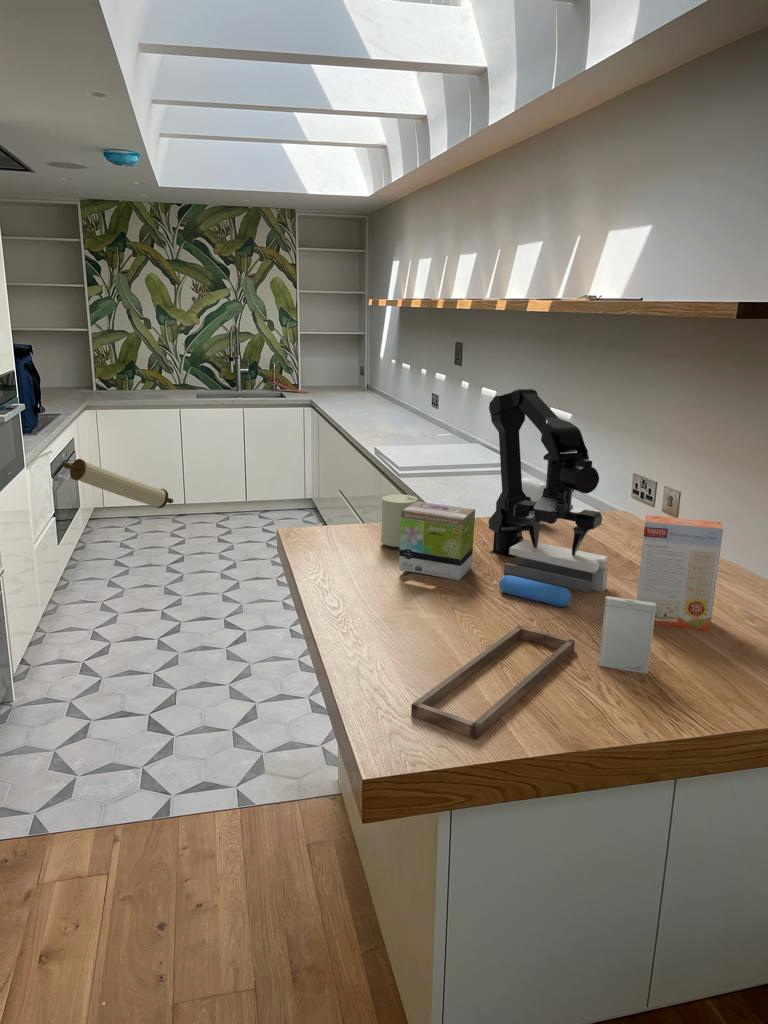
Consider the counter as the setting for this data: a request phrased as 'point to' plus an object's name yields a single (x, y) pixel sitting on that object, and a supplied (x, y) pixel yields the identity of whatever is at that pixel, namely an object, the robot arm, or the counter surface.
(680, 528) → the cracker box
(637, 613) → the hard drive
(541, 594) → the blue pill shape
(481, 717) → the frame
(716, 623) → the counter surface
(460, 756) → the counter surface
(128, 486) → the rolling pin
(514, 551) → the duct lid
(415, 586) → the counter surface
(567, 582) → the duct
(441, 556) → the tea box
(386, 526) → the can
